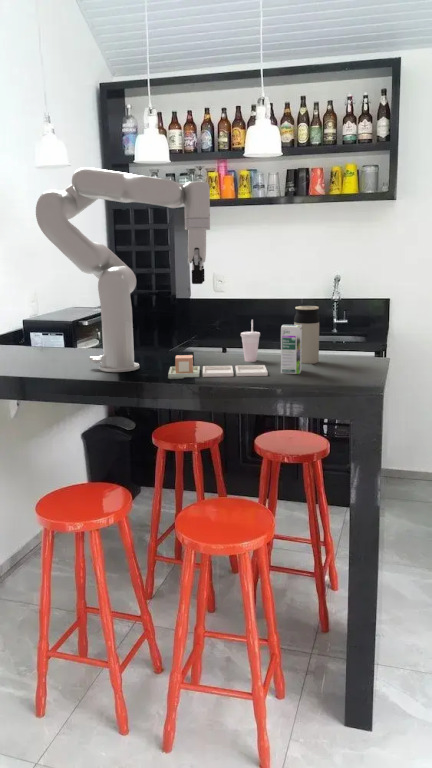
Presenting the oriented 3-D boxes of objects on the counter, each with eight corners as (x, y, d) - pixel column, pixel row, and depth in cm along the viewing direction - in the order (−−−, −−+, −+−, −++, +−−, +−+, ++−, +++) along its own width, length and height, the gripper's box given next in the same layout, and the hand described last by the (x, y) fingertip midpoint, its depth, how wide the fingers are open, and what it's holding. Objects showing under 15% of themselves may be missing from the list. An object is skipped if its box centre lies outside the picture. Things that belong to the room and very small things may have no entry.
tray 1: (168, 378, 189) (168, 373, 189) (170, 371, 200) (170, 366, 199) (199, 378, 189) (199, 373, 189) (199, 370, 200) (199, 366, 200)
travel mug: (314, 359, 216) (315, 305, 212) (321, 364, 208) (322, 307, 204) (290, 360, 215) (291, 306, 211) (297, 365, 207) (298, 308, 203)
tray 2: (202, 378, 189) (202, 373, 189) (203, 370, 200) (202, 366, 200) (233, 377, 189) (233, 372, 189) (232, 370, 200) (232, 365, 200)
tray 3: (236, 377, 189) (236, 372, 189) (235, 370, 200) (235, 365, 200) (267, 377, 189) (267, 372, 189) (264, 369, 200) (264, 365, 200)
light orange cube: (175, 375, 192) (175, 358, 191) (176, 371, 197) (176, 355, 196) (192, 374, 192) (192, 358, 191) (193, 371, 197) (192, 355, 196)
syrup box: (280, 374, 193) (280, 326, 189) (282, 371, 198) (283, 323, 195) (299, 375, 191) (300, 326, 188) (301, 371, 197) (302, 324, 194)
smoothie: (258, 364, 209) (258, 320, 206) (239, 363, 211) (239, 320, 208) (261, 360, 216) (261, 318, 213) (242, 360, 217) (242, 318, 214)
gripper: (187, 225, 202) (188, 281, 206) (182, 224, 185) (183, 284, 189) (211, 225, 202) (211, 280, 205) (208, 224, 185) (209, 284, 189)
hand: (198, 282), depth 197 cm, fingers open, 9 cm apart
